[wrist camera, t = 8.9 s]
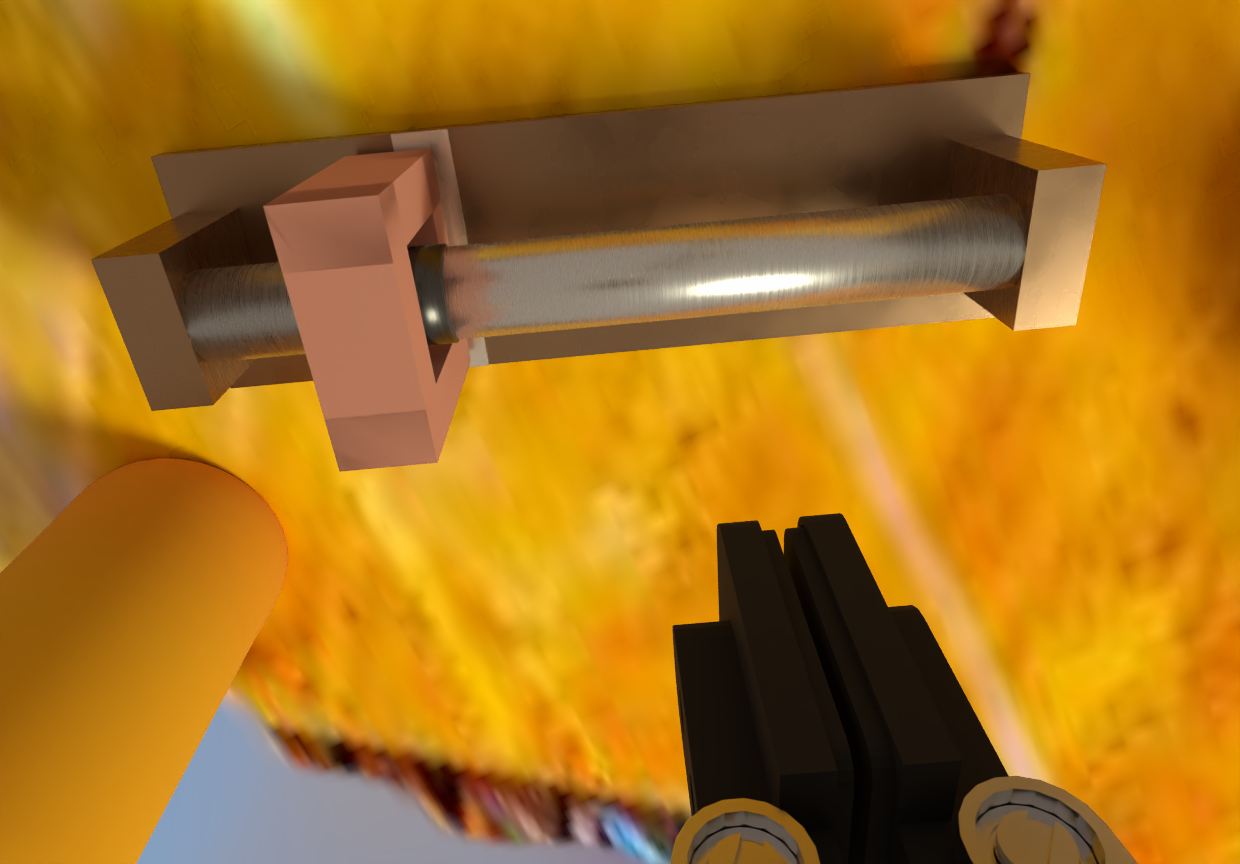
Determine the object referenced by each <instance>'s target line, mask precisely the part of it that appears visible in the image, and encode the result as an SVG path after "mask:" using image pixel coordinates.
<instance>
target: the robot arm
mask: <svg viewBox="0 0 1240 864" xmlns="http://www.w3.org/2000/svg"><path fill="white" fill-rule="evenodd" d="M717 558H718V592H719V622H707V623H695V624H683V625H673V644H674V658H675V672H676V684H677V695H678V706H679V715H680V724H681V733H682V741H683V749H684V757H685V765H686V774H687V782H688V790H689V798H690V806H691V815H692V817H691V818H690V819H689V820H687V822H686V823H685V825H684V826H683V828H682V830H681V831H680V833H679V834H678V836H677V838H676V841H675V845H674V849H673V853H672V858H671V864H1138V863H1137V862H1136V860H1135V859H1134V858H1133V857H1132V855H1131V854H1130V853H1129V852H1128V850H1127V849H1126V848H1125V847H1124V845H1123V844H1122V843H1121V842H1120V840H1119V839H1118V838H1117V837H1116V835H1115V834H1114V833H1113V832H1112V830H1111V829H1110V828H1109V827H1108V825H1107V824H1106V823H1105V822H1104V821H1103V820H1102V819H1101V818H1100V817H1099V816H1098V815H1097V814H1096V813H1095V812H1094V811H1093V810H1092V809H1091V808H1090V807H1089V806H1088V805H1087V804H1085V803H1084V802H1082V801H1081V800H1079V799H1078V798H1076V797H1075V796H1073V795H1072V794H1070V793H1068V792H1067V791H1065V790H1063V789H1061V788H1059V787H1056V786H1054V785H1051V784H1049V783H1046V782H1044V781H1041V780H1037V779H1031V778H1025V777H1020V776H1008V774H1007V772H1006V770H1005V768H1004V766H1003V765H1002V763H1001V761H1000V759H999V757H998V755H997V753H996V751H995V750H994V748H993V746H992V744H991V742H990V740H989V738H988V737H987V735H986V733H985V731H984V729H983V727H982V725H981V723H980V722H979V720H978V718H977V716H976V714H975V712H974V710H973V708H972V707H971V705H970V703H969V701H968V699H967V697H966V695H965V693H964V692H963V690H962V688H961V686H960V684H959V682H958V680H957V679H956V677H955V675H954V673H953V671H952V669H951V667H950V665H949V664H948V662H947V660H946V658H945V656H944V654H943V652H942V650H941V649H940V647H939V645H938V643H937V641H936V639H935V637H934V636H933V634H932V632H931V630H930V628H929V626H928V624H927V622H926V621H925V619H924V617H923V615H922V614H921V613H920V611H919V610H918V609H917V608H916V607H915V606H913V605H908V606H896V607H888V606H887V604H886V602H885V600H884V598H883V596H882V594H881V592H880V590H879V588H878V586H877V584H876V582H875V579H874V577H873V575H872V573H871V571H870V569H869V567H868V565H867V563H866V561H865V559H864V557H863V555H862V553H861V551H860V549H859V546H858V544H857V542H856V540H855V538H854V536H853V534H852V532H851V530H850V528H849V526H848V524H847V522H846V520H845V518H844V516H843V515H842V514H840V513H838V514H827V515H815V516H803V517H800V518H799V520H798V527H797V528H788V529H786V530H785V533H784V554H783V552H782V549H781V546H780V543H779V540H778V537H777V534H776V532H775V530H764V531H762V530H761V527H760V524H759V522H758V521H745V522H733V523H722V524H718V525H717Z"/></svg>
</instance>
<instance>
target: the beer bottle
mask: <svg viewBox="0 0 1240 864" xmlns="http://www.w3.org/2000/svg"><path fill="white" fill-rule="evenodd" d="M287 566H288V547H287V542H286V539H285V535H284V531H283V528H282V526H281V524H280V522H279V520H278V519H277V517H276V515H275V513H274V512H273V511H272V509H271V508H270V507H269V505H268V504H267V503H266V501H265V500H264V499H263V498H261V497H260V496H259V495H258V494H257V493H256V492H255V491H254V490H253V489H252V488H251V487H249V486H248V485H246V484H245V483H243V482H242V481H240V480H239V479H238V478H236V477H234V476H232V475H230V474H228V473H226V472H224V471H222V470H220V469H218V468H215V467H212V466H209V465H206V464H203V463H200V462H195V461H190V460H184V459H173V458H158V459H150V460H142V461H137V462H134V463H131V464H127V465H124V466H121V467H119V468H117V469H115V470H114V471H112V472H110V473H108V474H106V475H105V476H103V477H101V478H99V479H98V480H96V481H95V482H93V483H92V484H91V485H90V486H88V487H87V488H86V489H85V490H84V491H83V492H82V493H81V494H79V495H78V496H77V497H76V498H75V499H74V500H73V501H72V502H71V503H70V504H69V505H68V506H67V507H66V508H65V509H64V510H63V511H62V512H61V513H60V514H59V515H58V517H57V518H56V519H55V520H54V521H53V522H52V523H51V524H50V525H49V526H48V527H47V528H46V529H45V530H44V531H43V532H42V533H41V534H40V535H39V536H38V537H37V538H36V539H35V540H34V541H33V542H32V543H31V544H30V545H29V546H28V547H27V548H26V549H25V550H24V551H23V552H22V553H21V554H20V555H19V556H18V557H17V558H16V559H15V560H13V561H12V562H11V563H10V564H9V565H8V566H7V567H6V568H5V569H4V570H3V571H2V572H1V573H0V864H136V863H137V861H138V859H139V857H140V855H141V853H142V852H143V850H144V848H145V846H146V844H147V842H148V840H149V838H150V836H151V834H152V833H153V831H154V829H155V827H156V825H157V823H158V821H159V819H160V818H161V816H162V814H163V812H164V810H165V808H166V806H167V804H168V802H169V800H170V798H171V797H172V795H173V793H174V791H175V789H176V787H177V785H178V783H179V781H180V780H181V778H182V776H183V774H184V772H185V770H186V768H187V766H188V764H189V762H190V761H191V759H192V757H193V755H194V753H195V751H196V749H197V747H198V745H199V743H200V742H201V740H202V738H203V736H204V734H205V732H206V730H207V728H208V726H209V724H210V722H211V720H212V719H213V717H214V715H215V713H216V711H217V709H218V707H219V705H220V704H221V702H222V700H223V698H224V696H225V694H226V692H227V690H228V688H229V687H230V685H231V683H232V681H233V679H234V677H235V675H236V673H237V671H238V669H239V668H240V666H241V664H242V662H243V660H244V658H245V656H246V654H247V652H248V651H249V649H250V647H251V645H252V643H253V641H254V640H255V638H256V636H257V635H258V633H259V631H260V630H261V628H262V626H263V625H264V623H265V621H266V620H267V618H268V616H269V614H270V613H271V611H272V609H273V607H274V605H275V603H276V601H277V599H278V597H279V595H280V592H281V590H282V587H283V584H284V581H285V576H286V571H287Z"/></svg>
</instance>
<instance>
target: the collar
mask: <svg viewBox="0 0 1240 864" xmlns="http://www.w3.org/2000/svg"><path fill="white" fill-rule="evenodd" d="M263 208H264V211H265V215H266V218H267V222H268V225H269V229H270V232H271V235H272V239H273V242H274V246H275V249H276V253H277V256H278V260H279V263H280V267H281V270H282V274H283V277H284V280H285V284H286V287H287V291H288V294H289V298H290V301H291V305H292V308H293V312H294V315H295V318H296V322H297V325H298V329H299V332H300V336H301V339H302V343H303V346H304V350H305V353H306V356H307V360H308V363H309V367H310V370H311V374H312V377H313V381H314V384H315V388H316V391H317V395H318V398H319V401H320V405H321V408H322V412H323V415H324V419H325V422H326V426H327V429H328V433H329V436H330V439H331V443H332V446H333V450H334V453H335V457H336V460H337V464H338V467H339V471H350V470H361V469H372V468H383V467H394V466H404V465H415V464H426V463H437V462H438V460H439V456H440V453H441V450H442V447H443V444H444V441H445V438H446V435H447V432H448V429H449V426H450V423H451V420H452V417H453V414H454V411H455V408H456V405H457V402H458V398H459V395H460V392H461V389H462V386H463V383H464V380H465V377H466V374H467V371H468V368H469V365H470V362H471V359H470V354H469V348H468V343H467V339H460V340H459V342H458V343H450V344H439V345H428V344H427V339H426V335H425V330H424V325H423V321H422V316H421V311H420V306H419V302H418V297H417V292H416V287H415V283H414V278H413V273H412V268H411V264H410V259H409V254H408V249H407V247H411V246H422V245H432V244H443V243H445V244H446V245H447V246H449V241H448V235H447V230H446V224H445V219H444V214H443V208H442V203H441V198H440V192H439V187H438V181H437V176H436V171H435V165H434V160H433V155H432V149H431V148H427V149H417V150H406V151H395V152H385V153H374V154H364V155H353V156H345V157H343V158H342V159H340V160H338V161H337V162H335V163H333V164H332V165H330V166H328V167H327V168H325V169H323V170H322V171H320V172H318V173H317V174H315V175H313V176H312V177H310V178H309V179H307V180H305V181H304V182H302V183H300V184H299V185H297V186H295V187H294V188H292V189H290V190H289V191H287V192H285V193H284V194H282V195H280V196H279V197H277V198H276V199H274V200H272V201H271V202H269V203H267V204H266V205H264V206H263Z"/></svg>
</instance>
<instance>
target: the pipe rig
mask: <svg viewBox="0 0 1240 864" xmlns="http://www.w3.org/2000/svg"><path fill="white" fill-rule="evenodd" d="M1029 79H1030V73H1023V72H1014V73H1003V74H992V75H982V76H971V77H961V78H950V79H940V80H929V81H919V82H908V83H897V84H887V85H876V86H866V87H855V88H845V89H834V90H824V91H813V92H803V93H792V94H781V95H771V96H760V97H750V98H739V99H729V100H718V101H708V102H697V103H686V104H676V105H665V106H655V107H644V108H634V109H623V110H613V111H602V112H592V113H581V114H570V115H560V116H549V117H539V118H528V119H518V120H507V121H497V122H486V123H475V124H465V125H454V126H444V127H433V128H423V129H412V130H402V131H391V132H380V133H370V134H359V135H349V136H338V137H328V138H317V139H307V140H296V141H286V142H275V143H264V144H254V145H243V146H233V147H222V148H212V149H201V150H191V151H180V152H169V153H161V154H158V155H155V156H152V157H151V158H152V161H153V164H154V167H155V170H156V173H157V175H158V178H159V181H160V184H161V187H162V190H163V193H164V196H165V199H166V202H167V205H168V207H169V210H170V213H171V216H172V219H171V220H169V221H167V222H165V223H163V224H161V225H159V226H157V227H155V228H153V229H151V230H149V231H147V232H145V233H143V234H141V235H139V236H137V237H135V238H133V239H131V240H129V241H127V242H125V243H123V244H121V245H119V246H117V247H115V248H113V249H111V250H109V251H107V252H105V253H104V254H102V255H100V256H98V257H96V258H94V259H92V263H93V265H94V268H95V270H96V273H97V275H98V278H99V280H100V283H101V285H102V288H103V290H104V293H105V295H106V298H107V300H108V303H109V305H110V308H111V310H112V313H113V315H114V318H115V320H116V323H117V325H118V328H119V330H120V333H121V335H122V338H123V340H124V343H125V345H126V348H127V350H128V353H129V355H130V358H131V360H132V363H133V365H134V368H135V370H136V373H137V375H138V378H139V380H140V383H141V385H142V388H143V390H144V393H145V395H146V397H147V400H148V402H149V405H150V407H151V410H152V411H155V410H166V409H177V408H188V407H198V406H209V405H214V404H215V403H216V401H217V400H218V399H219V398H220V397H221V396H222V395H223V394H224V393H225V392H226V391H227V390H228V389H229V388H239V387H250V386H261V385H271V384H282V383H293V382H304V381H313V377H312V374H311V370H310V367H309V363H308V360H307V356H306V353H305V350H304V346H303V343H302V339H301V336H300V332H299V329H298V325H297V322H296V318H295V315H294V312H293V308H292V305H291V301H290V298H289V294H288V291H287V287H286V284H285V280H284V277H283V274H282V270H281V267H280V263H279V260H278V256H277V253H276V249H275V246H274V242H273V239H272V235H271V232H270V229H269V225H268V222H267V218H266V215H265V211H264V208H263V206H264V205H266V204H267V203H269V202H271V201H272V200H274V199H276V198H277V197H279V196H280V195H282V194H284V193H285V192H287V191H289V190H290V189H292V188H294V187H295V186H297V185H299V184H300V183H302V182H304V181H305V180H307V179H309V178H310V177H312V176H313V175H315V174H317V173H318V172H320V171H322V170H323V169H325V168H327V167H328V166H330V165H332V164H333V163H335V162H337V161H338V160H340V159H342V158H343V157H345V156H353V155H364V154H374V153H385V152H395V151H406V150H417V149H427V148H431V149H432V155H433V160H434V165H435V171H436V176H437V181H438V187H439V192H440V198H441V203H442V208H443V214H444V219H445V224H446V230H447V235H448V241H449V246H447V245H446V244H445V243H443V244H432V245H422V246H411V247H407V249H408V254H409V259H410V264H411V268H412V273H413V278H414V283H415V287H416V292H417V297H418V302H419V306H420V311H421V316H422V321H423V325H424V330H425V335H426V339H427V344H428V345H439V344H450V343H458V342H459V340H460V339H467V343H468V348H469V354H470V359H471V362H470V365H469V367H475V366H486V365H489V364H497V363H508V362H519V361H529V360H540V359H551V358H562V357H572V356H583V355H594V354H605V353H615V352H626V351H637V350H648V349H658V348H669V347H680V346H691V345H701V344H712V343H723V342H734V341H744V340H755V339H766V338H777V337H787V336H798V335H809V334H820V333H830V332H841V331H852V330H863V329H873V328H884V327H895V326H906V325H916V324H927V323H938V322H948V321H959V320H970V319H981V318H991V317H996V318H997V319H999V320H1000V321H1001V322H1003V323H1004V324H1005V325H1007V326H1008V327H1009V328H1011V329H1012V330H1013V331H1016V330H1027V329H1038V328H1048V327H1059V326H1070V325H1076V320H1077V315H1078V310H1079V305H1080V299H1081V294H1082V289H1083V284H1084V279H1085V274H1086V268H1087V263H1088V258H1089V253H1090V248H1091V243H1092V237H1093V232H1094V227H1095V222H1096V217H1097V212H1098V206H1099V201H1100V196H1101V191H1102V186H1103V180H1104V175H1105V170H1106V165H1107V164H1104V163H1101V162H1098V161H1094V160H1091V159H1087V158H1084V157H1081V156H1077V155H1074V154H1070V153H1067V152H1064V151H1060V150H1057V149H1053V148H1050V147H1047V146H1043V145H1040V144H1037V143H1033V142H1030V141H1026V140H1023V139H1021V135H1022V128H1023V121H1024V114H1025V107H1026V100H1027V93H1028V86H1029Z"/></svg>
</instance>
